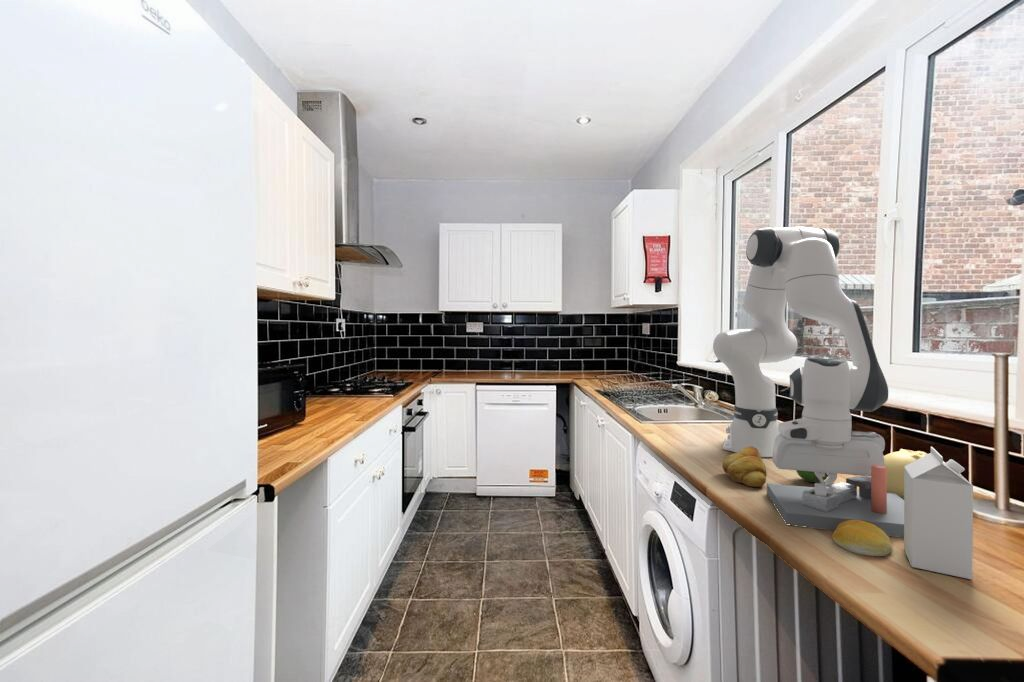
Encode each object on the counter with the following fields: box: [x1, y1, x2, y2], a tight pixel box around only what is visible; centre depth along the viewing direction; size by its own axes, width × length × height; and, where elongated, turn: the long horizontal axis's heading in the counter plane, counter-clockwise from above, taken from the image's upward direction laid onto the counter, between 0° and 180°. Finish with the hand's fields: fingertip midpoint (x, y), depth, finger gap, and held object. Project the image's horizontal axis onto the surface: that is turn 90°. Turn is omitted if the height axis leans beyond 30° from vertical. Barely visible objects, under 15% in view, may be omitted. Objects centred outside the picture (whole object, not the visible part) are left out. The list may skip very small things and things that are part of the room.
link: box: [802, 481, 858, 512], centre depth 93 cm, size 13×5×2 cm, turn 117°
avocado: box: [795, 470, 829, 483], centre depth 111 cm, size 8×8×12 cm
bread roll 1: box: [722, 446, 767, 488], centre depth 113 cm, size 13×10×8 cm
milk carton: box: [903, 446, 974, 580], centre depth 73 cm, size 7×7×19 cm
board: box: [766, 475, 904, 538], centre depth 92 cm, size 17×25×7 cm
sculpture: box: [883, 448, 928, 499], centre depth 101 cm, size 12×12×11 cm
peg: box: [870, 465, 887, 514], centre depth 88 cm, size 2×2×9 cm
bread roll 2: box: [832, 520, 893, 557], centre depth 80 cm, size 8×9×4 cm
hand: (826, 491), depth 97 cm, fingers closed, pressing on link
